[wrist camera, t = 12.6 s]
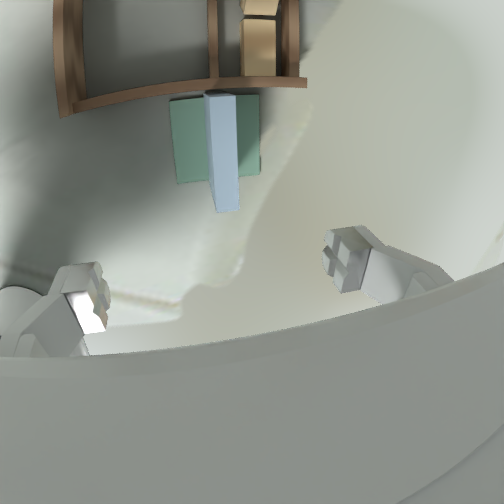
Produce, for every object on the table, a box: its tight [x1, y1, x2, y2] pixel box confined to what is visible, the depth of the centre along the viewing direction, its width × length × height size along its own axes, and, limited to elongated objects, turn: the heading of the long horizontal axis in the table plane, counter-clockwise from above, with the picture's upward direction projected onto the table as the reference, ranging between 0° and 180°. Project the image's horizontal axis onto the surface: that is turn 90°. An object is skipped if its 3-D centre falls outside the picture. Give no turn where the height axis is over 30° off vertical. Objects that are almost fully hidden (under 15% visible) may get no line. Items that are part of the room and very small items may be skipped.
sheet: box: [203, 91, 239, 213], centre depth 25 cm, size 10×2×7 cm, turn 1°
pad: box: [169, 94, 260, 184], centre depth 28 cm, size 9×9×1 cm
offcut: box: [240, 19, 276, 76], centre depth 23 cm, size 6×3×2 cm, turn 1°
